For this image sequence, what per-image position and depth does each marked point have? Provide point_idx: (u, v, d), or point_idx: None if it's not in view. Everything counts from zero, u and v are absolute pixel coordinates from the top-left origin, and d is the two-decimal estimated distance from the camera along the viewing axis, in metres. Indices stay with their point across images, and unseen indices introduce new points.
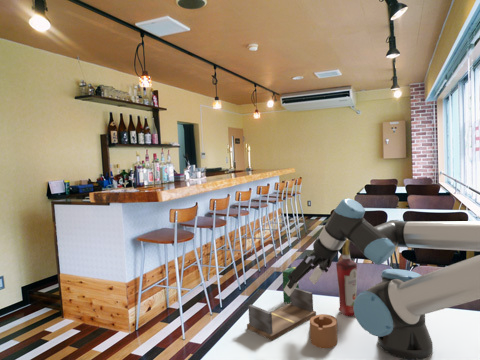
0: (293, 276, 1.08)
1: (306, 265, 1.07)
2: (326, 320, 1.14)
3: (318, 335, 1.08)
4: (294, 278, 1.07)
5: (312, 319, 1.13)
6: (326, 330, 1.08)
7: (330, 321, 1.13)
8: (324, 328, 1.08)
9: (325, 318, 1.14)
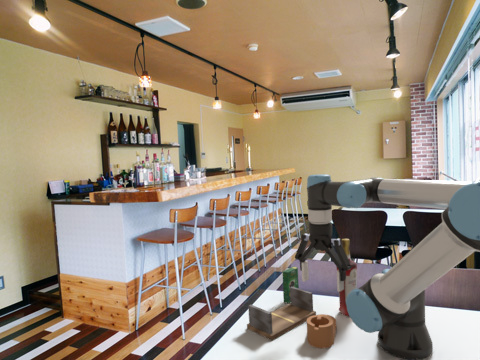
0: None
1: None
2: (324, 320, 1.14)
3: (314, 335, 1.09)
4: None
5: (309, 319, 1.13)
6: (322, 330, 1.08)
7: (327, 321, 1.13)
8: (320, 328, 1.08)
9: (323, 318, 1.14)
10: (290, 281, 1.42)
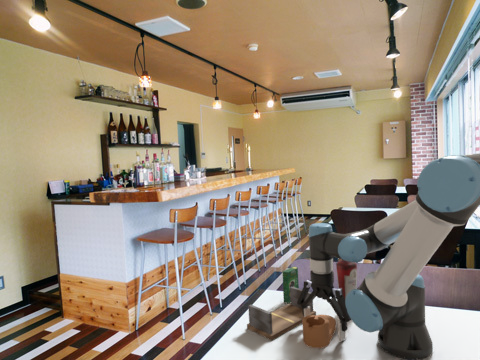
0: None
1: None
2: (320, 320, 1.14)
3: (308, 334, 1.09)
4: None
5: (306, 318, 1.14)
6: (316, 330, 1.08)
7: (324, 322, 1.13)
8: (314, 328, 1.08)
9: (319, 318, 1.14)
10: (290, 281, 1.42)
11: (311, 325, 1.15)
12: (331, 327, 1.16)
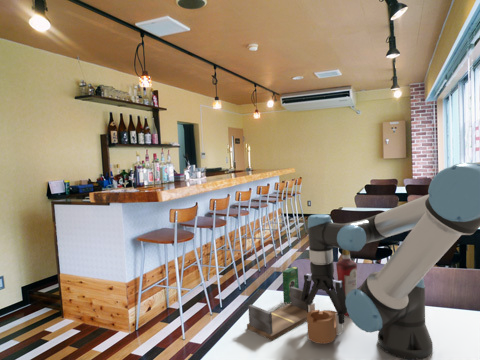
0: None
1: None
2: (325, 315, 1.13)
3: (313, 329, 1.08)
4: None
5: (310, 313, 1.13)
6: (320, 324, 1.07)
7: (328, 316, 1.11)
8: (318, 322, 1.07)
9: (324, 313, 1.13)
10: (290, 281, 1.42)
11: (316, 320, 1.14)
12: None
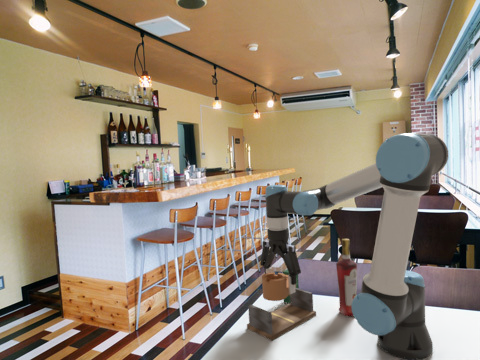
0: None
1: None
2: (279, 277, 1.23)
3: (266, 288, 1.18)
4: None
5: (265, 274, 1.23)
6: (272, 283, 1.17)
7: (282, 277, 1.21)
8: (271, 281, 1.17)
9: (278, 275, 1.23)
10: None
11: None
12: None
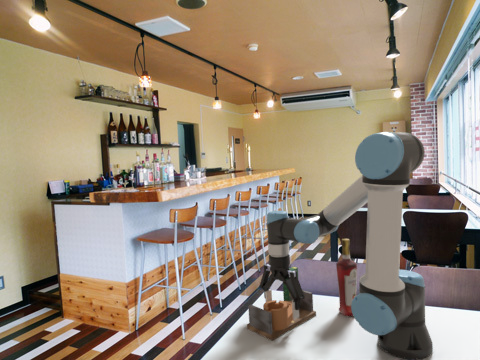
0: None
1: None
2: (281, 305, 1.23)
3: None
4: None
5: (267, 303, 1.23)
6: (274, 313, 1.17)
7: None
8: (272, 311, 1.17)
9: (280, 303, 1.23)
10: None
11: None
12: (291, 311, 1.24)
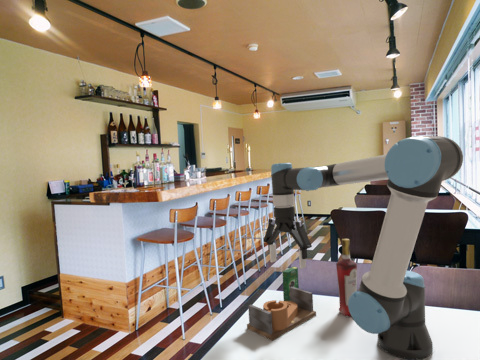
0: None
1: None
2: (281, 305, 1.23)
3: None
4: None
5: (267, 303, 1.23)
6: (273, 313, 1.17)
7: (283, 306, 1.22)
8: (272, 311, 1.17)
9: (280, 303, 1.23)
10: (290, 281, 1.42)
11: None
12: (291, 311, 1.24)
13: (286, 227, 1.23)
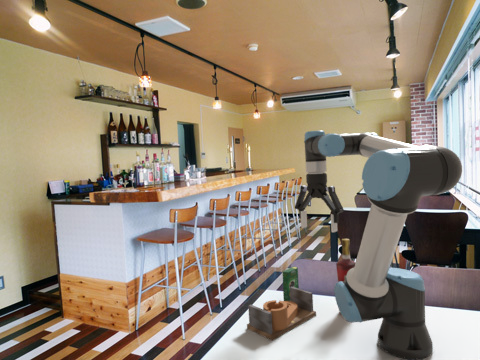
0: None
1: None
2: (280, 305, 1.23)
3: None
4: None
5: (267, 303, 1.23)
6: (273, 313, 1.17)
7: (283, 306, 1.22)
8: (271, 311, 1.17)
9: (280, 303, 1.23)
10: (290, 281, 1.42)
11: None
12: (291, 312, 1.24)
13: (318, 193, 1.27)
